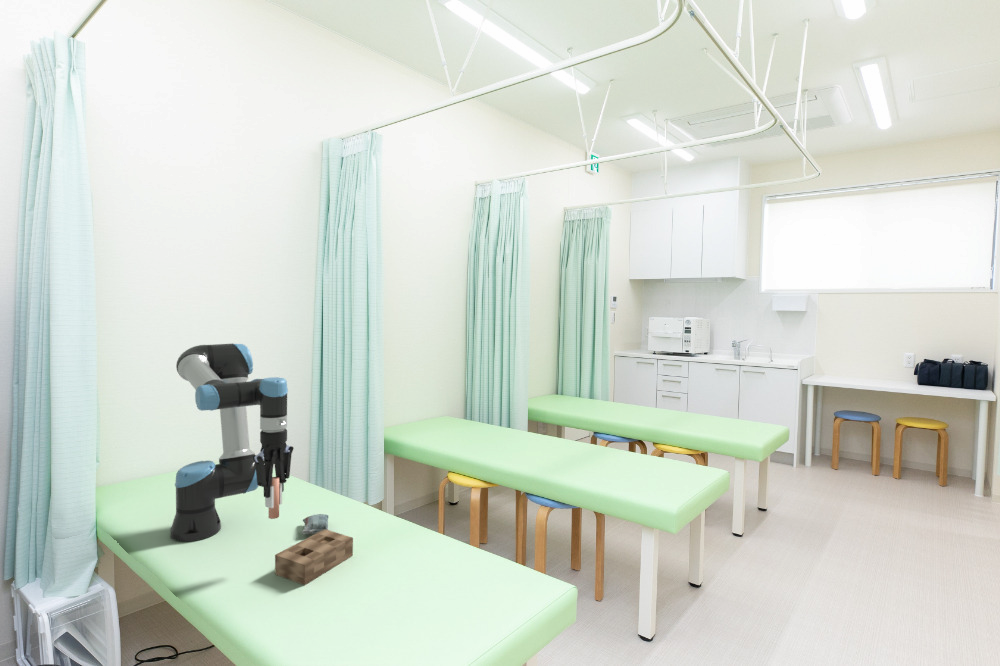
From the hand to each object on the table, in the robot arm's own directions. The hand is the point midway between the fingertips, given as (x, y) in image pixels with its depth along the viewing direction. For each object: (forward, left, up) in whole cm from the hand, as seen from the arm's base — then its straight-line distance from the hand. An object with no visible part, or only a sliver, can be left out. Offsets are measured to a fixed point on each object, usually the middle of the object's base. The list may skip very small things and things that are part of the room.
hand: (273, 505), depth 165 cm
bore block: (+11, +6, -19) cm, 23 cm away
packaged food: (-6, +23, -19) cm, 31 cm away
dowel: (0, 0, -4) cm, 4 cm away
